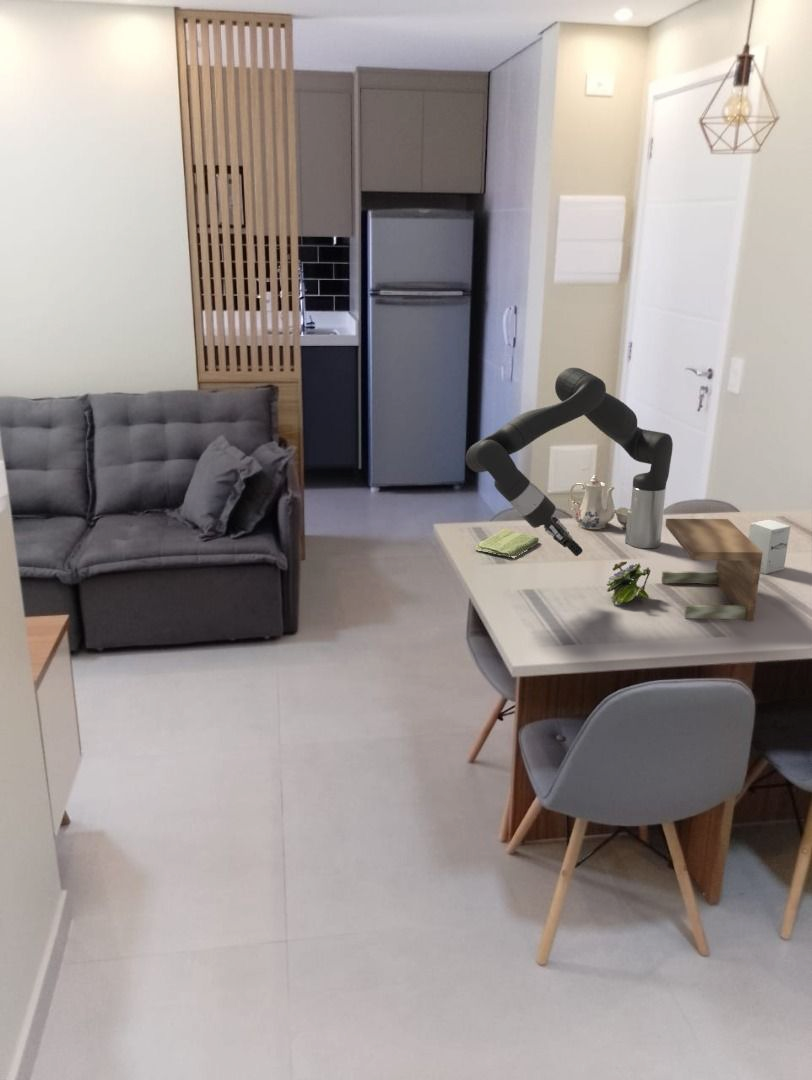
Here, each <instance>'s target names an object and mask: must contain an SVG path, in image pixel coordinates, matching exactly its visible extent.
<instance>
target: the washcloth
mask: <svg viewBox="0 0 812 1080" xmlns="http://www.w3.org/2000/svg"><path fill="white" fill-rule="evenodd" d="M539 541H540V538H539V537H538V536H536V535H532V534H526V533H521V532H517V531H515V530H512V529H511V530H510V529H508V528H503V529H501V530H500V531H499V532H496V533H495V534H493V535H491V536H490V537H487V538H486V539H484V540H482V541H480V542H479V543H478V544H477V545H476V546H475V547H474V549H475V548H478V549H481V550H485V551H488V552H492V553H496V554H500V555H499V556H502V555H503V556H502V557H505V556H507V557H506V558H510V557H511V556H518V555H519V554H521V553H522V552H524V551H526V550H528V549H529V548H531V547H532V546H534V545H535V544H537V545H538V543H539ZM535 546H536V545H535ZM535 546H534V547H535ZM532 548H533V547H532ZM532 548H531V549H532ZM529 550H530V549H529ZM529 550H528V551H529ZM526 552H527V551H526ZM521 555H522V554H521ZM509 556H510V557H509ZM518 557H519V556H518Z"/></svg>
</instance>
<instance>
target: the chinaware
mask: <svg viewBox="0 0 812 1080" xmlns="http://www.w3.org/2000/svg"><path fill="white" fill-rule="evenodd" d="M577 486H581V487H580V488H581V490H582V491H583V490H584V495H579V496H575V495H574V489H575V487H577ZM605 486H606V483H605V482H601V481H600V479H599V478H598V476H597V475H596V474H594V475H593V476H592V477H591V478H590V479H589V480H588V481H584V482H582V483H581V482H577V483H574V484H573V485H572V486H571V488H570V496H571V497H570V499H568V500H567V503H566V504H567V505H566V506H567V507H568V508H569V509H570V510H573V512H574V513H575V514H574V520H575V522H577V526H578V525H579V526H578V527H580V526H582V527H585V528H591V529H590V530H602V529H604V528H606V524H608V523H609V522H611V521H613V519H614V517H615V515H616V519H617V522H618V523H619V524H620V525H621V526H622V529H625V530H626V524H627V513H628V511H630V510H631V508H627V507H618V509H616V508H615V503H614V499H613V494H612V493H613V490H615V487H614V486H613V487H610V488H608V489H607V491H606V505H605V502H604V497H603V496H604V495H603V493H604V488H605ZM570 502H571V505H572V507H570V506H569V503H570ZM582 527H581V528H582ZM585 528H584V529H585ZM601 528H602V529H601Z"/></svg>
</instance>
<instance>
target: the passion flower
mask: <svg viewBox="0 0 812 1080" xmlns="http://www.w3.org/2000/svg"><path fill="white" fill-rule="evenodd" d="M627 564H628V561H620V562H619V563H615V564H614V565H613V567H612V571H616V570H618V569H619V571H617V572H616V573H614V574H613V575H611V576H610V577H608V579H609V580H608V582H607V583H606V586H607V587H608V588H607V590H606V592H609V593H610V592H612V591H613V595H612V597H611V598H612V599H611V600H612V604H613V605H614V606H615V605H616V604H617V605H620V604H621V603H628V602H630V601H633V600H634V598H635V597H639V595H640V596H641V603H642V604H644V598H645V599H647V600H649V599H650V596H649V594H648V593H647V592H646V590H645V588H646V584H647V581H648V578H649V576H650V575H651V569H650V567H646V568H644V569H642V570H640V569H641V564H640V563H639V562H638V563H635V564H631V565H630V564H629V567H626V568H623V569H622V567H623V566H625V565H627ZM642 576H644V577H646V578H645V581H644V583H643V585H642V586H641V587H640V586H638V585H637V583H638V580H639V579H640V577H642Z"/></svg>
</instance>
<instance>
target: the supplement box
mask: <svg viewBox="0 0 812 1080" xmlns="http://www.w3.org/2000/svg"><path fill="white" fill-rule="evenodd" d="M749 524H750V525H749V533H748V537H747V538H748V539H749V540H750V541H751V542H752V543H753V544H754V545H755V546H757V547H758V548H759V549H760V550H761V551H762V552H763V554H762V561H761V568H760V572H761V574H763V573H764V575H768V574H770V573H774V572H780V571H783V570H785V564H786V557H787V553H788V552H787V550H788V545H789V539H790V532H791V525H788V524H786V523H782V522H779V521H775V520H772V519H765V520H760V521H755V522H750V523H749Z"/></svg>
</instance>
